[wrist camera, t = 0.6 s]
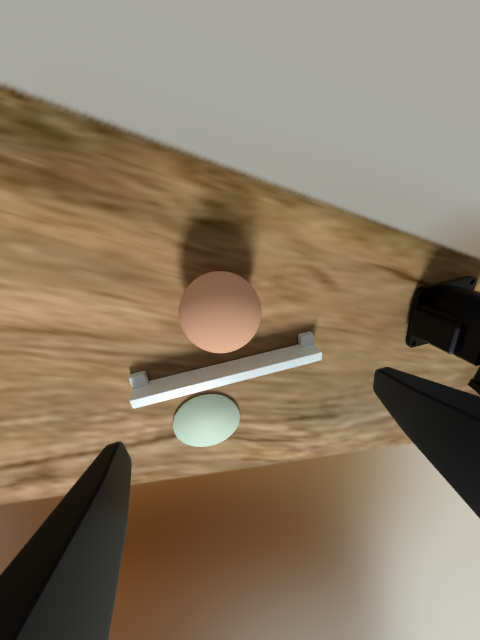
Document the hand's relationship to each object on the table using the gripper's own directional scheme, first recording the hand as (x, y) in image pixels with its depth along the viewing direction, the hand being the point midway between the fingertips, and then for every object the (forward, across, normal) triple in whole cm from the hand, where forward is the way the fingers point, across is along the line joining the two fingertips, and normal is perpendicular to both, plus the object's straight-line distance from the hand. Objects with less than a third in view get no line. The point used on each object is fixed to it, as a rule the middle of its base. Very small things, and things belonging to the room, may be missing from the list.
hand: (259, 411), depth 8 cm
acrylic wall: (+12, 0, +6) cm, 13 cm away
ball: (+12, 0, 0) cm, 12 cm away
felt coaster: (+12, +3, +12) cm, 17 cm away
